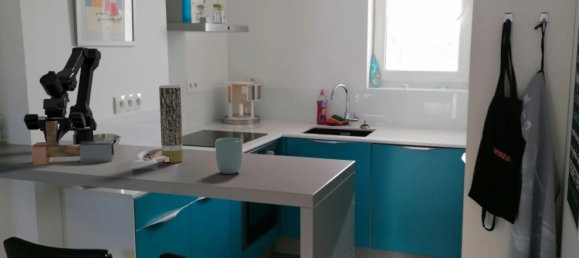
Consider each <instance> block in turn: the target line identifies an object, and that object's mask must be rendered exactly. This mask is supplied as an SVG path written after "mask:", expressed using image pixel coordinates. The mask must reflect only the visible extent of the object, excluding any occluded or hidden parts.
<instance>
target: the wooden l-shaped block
mask: <svg viewBox="0 0 579 258" xmlns="http://www.w3.org/2000/svg"><path fill="white" fill-rule="evenodd" d="M58 129H59V124H58V121H47V122H46V136H47V157H52V158H68V157H69V158H72V157H73V158H74V157H75V158H76V157H80V146H79V145H73V144H60V141H59V142H57V141H56V137H57V133H58Z"/></svg>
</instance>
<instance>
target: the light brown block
mask: <svg viewBox="0 0 579 258" xmlns="http://www.w3.org/2000/svg"><path fill="white" fill-rule="evenodd" d="M30 148H31V162H32V165H33V166H34V165H35V166H36V165H38V166H39V165H47V164H49V163H50V162H52V161H53V157H47V143H46V141H43V142H42V141H40V142H35V143H33V144H31V146H30Z"/></svg>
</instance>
